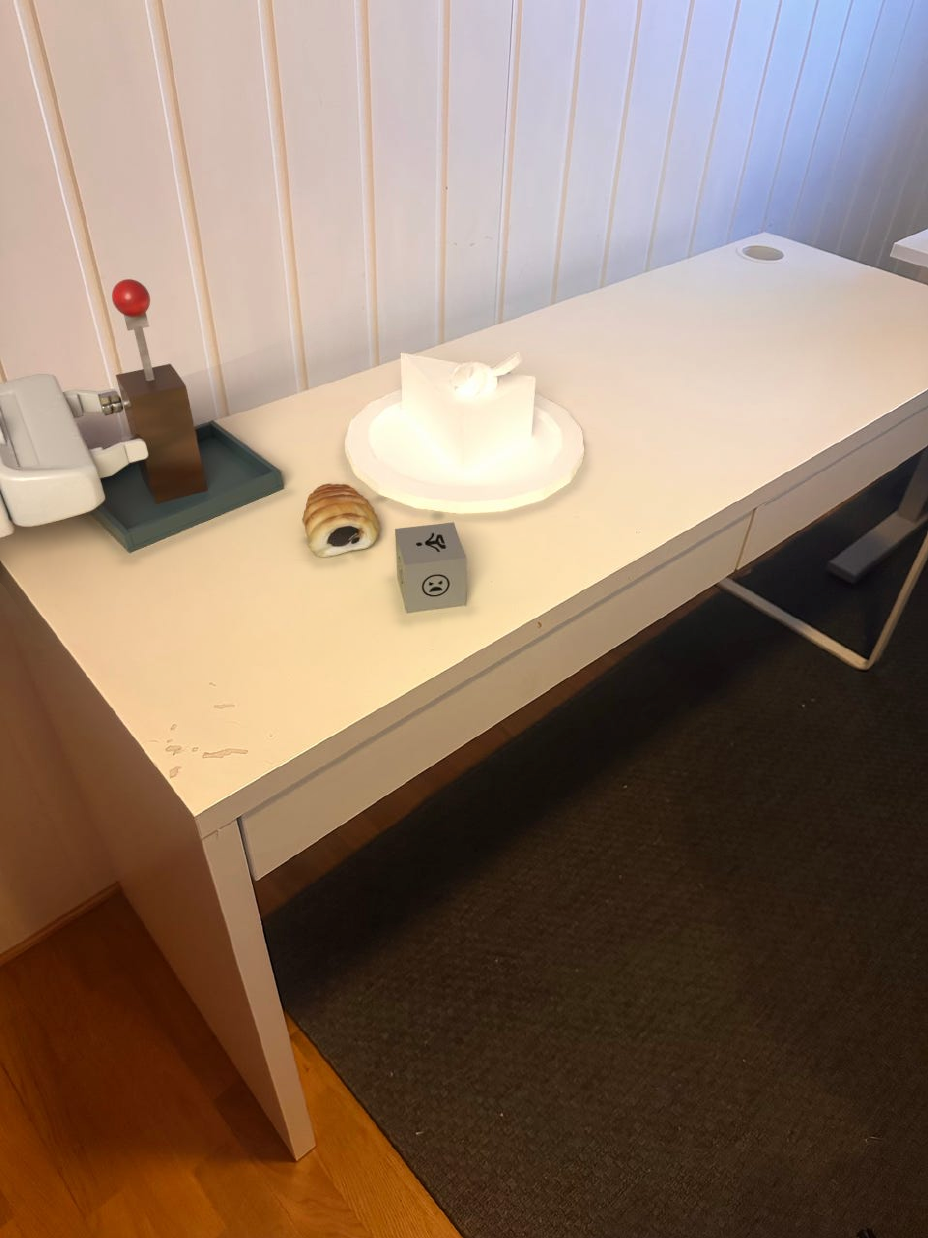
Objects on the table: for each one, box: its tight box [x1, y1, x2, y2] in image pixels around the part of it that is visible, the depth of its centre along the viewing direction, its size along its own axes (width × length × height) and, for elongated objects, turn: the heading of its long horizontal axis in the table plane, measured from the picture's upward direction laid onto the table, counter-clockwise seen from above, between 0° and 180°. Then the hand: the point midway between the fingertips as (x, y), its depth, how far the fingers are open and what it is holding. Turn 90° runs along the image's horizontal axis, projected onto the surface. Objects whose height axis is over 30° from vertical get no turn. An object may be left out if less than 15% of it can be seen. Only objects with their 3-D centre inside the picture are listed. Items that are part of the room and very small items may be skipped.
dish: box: [344, 351, 585, 515], centre depth 90 cm, size 25×25×11 cm
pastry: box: [301, 483, 381, 558], centre depth 82 cm, size 9×7×4 cm
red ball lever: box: [111, 278, 207, 504], centre depth 80 cm, size 5×5×20 cm
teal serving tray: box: [88, 419, 285, 554], centre depth 87 cm, size 16×13×2 cm
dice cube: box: [394, 522, 467, 614], centre depth 75 cm, size 5×5×5 cm
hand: (132, 421), depth 81 cm, fingers open, 8 cm apart
